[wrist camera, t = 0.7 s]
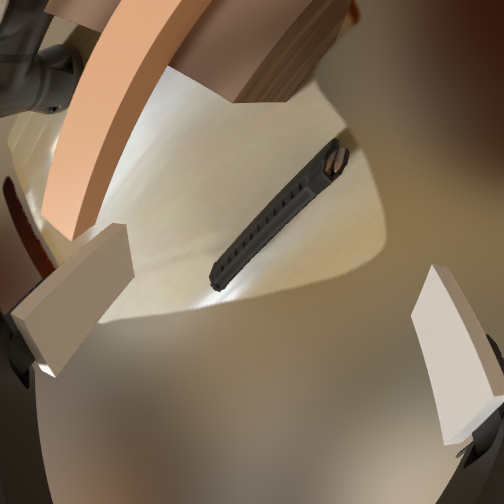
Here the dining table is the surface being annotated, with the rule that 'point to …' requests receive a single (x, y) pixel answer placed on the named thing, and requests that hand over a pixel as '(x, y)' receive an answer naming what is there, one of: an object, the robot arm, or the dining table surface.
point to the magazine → (280, 212)
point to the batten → (111, 105)
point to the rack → (240, 42)
